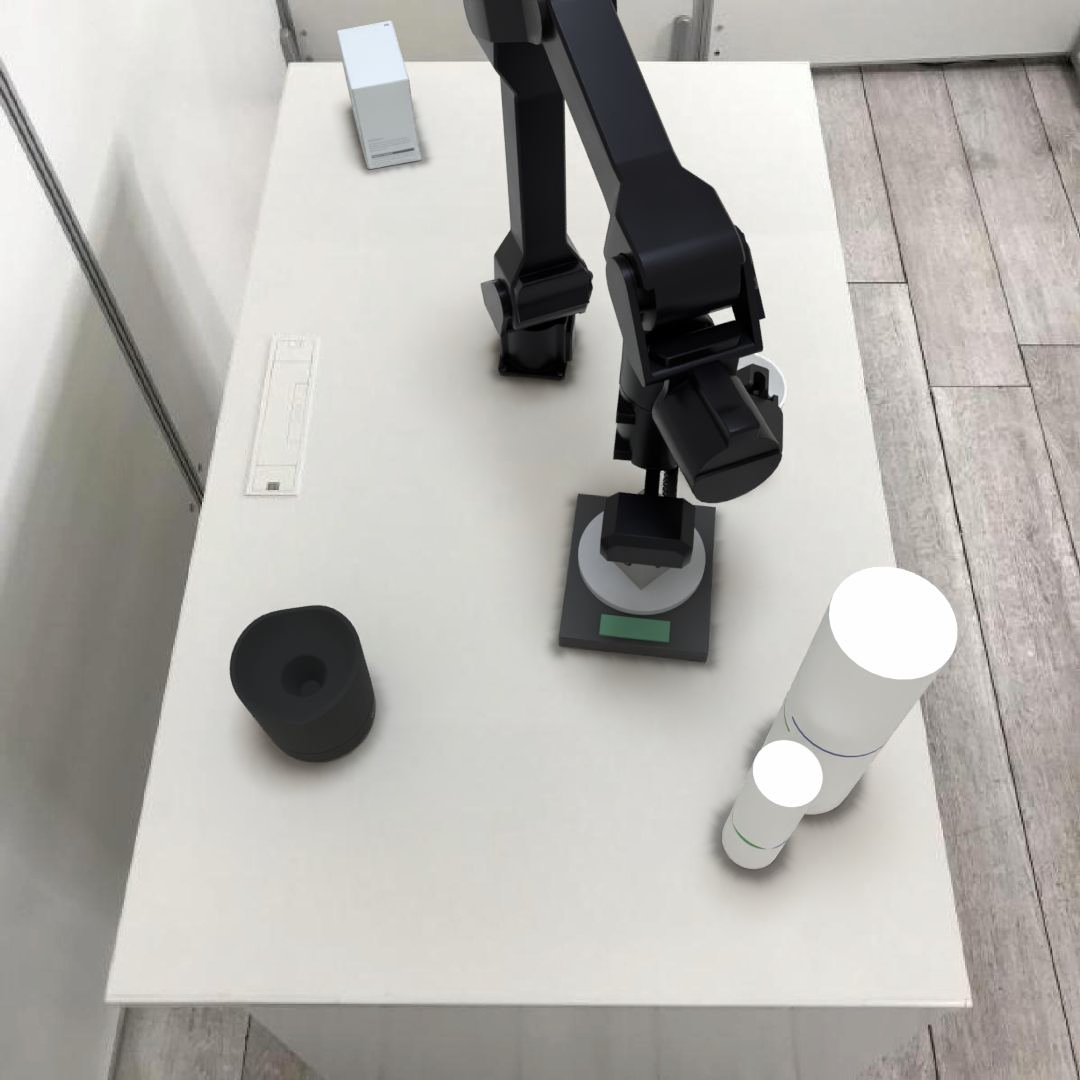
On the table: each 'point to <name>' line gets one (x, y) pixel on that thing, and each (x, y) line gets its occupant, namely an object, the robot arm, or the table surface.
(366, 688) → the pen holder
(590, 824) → the table surface
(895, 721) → the cylindrical container
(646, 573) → the dice cube
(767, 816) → the tube
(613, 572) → the scale
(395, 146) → the cosmetics box
